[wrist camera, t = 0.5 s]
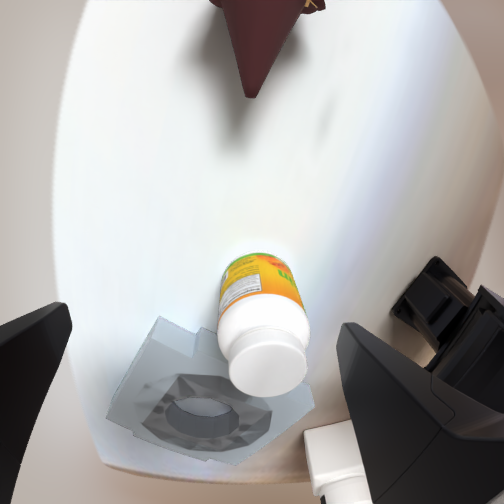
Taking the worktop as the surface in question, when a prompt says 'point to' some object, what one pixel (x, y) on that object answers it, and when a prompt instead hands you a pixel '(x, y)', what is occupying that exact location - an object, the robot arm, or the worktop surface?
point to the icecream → (261, 33)
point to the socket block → (201, 386)
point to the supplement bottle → (262, 325)
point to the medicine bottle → (336, 464)
